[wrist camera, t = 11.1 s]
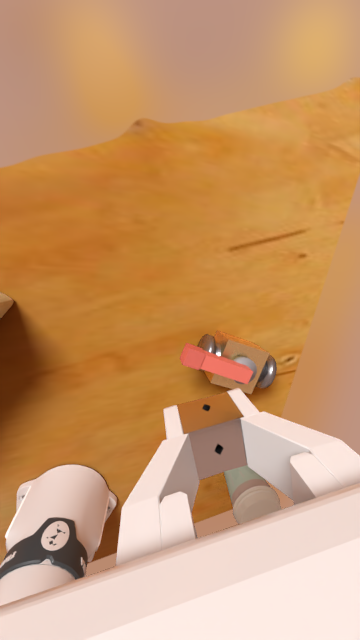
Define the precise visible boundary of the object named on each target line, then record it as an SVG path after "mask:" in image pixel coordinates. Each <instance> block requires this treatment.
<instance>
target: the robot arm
mask: <svg viewBox="0 0 360 640" xmlns="http://www.w3.org/2000/svg"><path fill="white" fill-rule="evenodd" d="M177 407H178V408H177ZM164 419H165V427H166V435H167V440H164V441H162V443H161V445H160V446H159V448H158V450H157V451H156V453H155V455H154V456H153V458H152V460H151V461H150V463H149V464H148V466H147V468H146V469H145V471H144V473H143V474H142V476H141V478H140V479H139V481H138V482H137V484H136V486H135V487H134V489H133V491H132V492H131V494H130V496H129V497H128V499H127V501H126V502H125V504H124V505H123V507H122V512H121V521H120V530H119V539H118V548H117V558H116V566H115V567H112V568H109V569H106V570H103V571H100V572H97V573H94V574H91V575H89V576H86V577H85V575H86V567H87V562H91V561H92V559H93V557H94V554H95V551H97V550H98V547H99V545H100V542H101V537H102V532H103V528H104V523H105V522H106V520H107V519H108V517H109V516H110V514H111V512H112V511H113V509H114V508H115V506H116V503H117V497H116V496H115V495H114V494H113V493H112V492H111V491H109V489H108V487H107V485H106V482H105V480H104V479H103V477H102V476H101V475H100V474H99V473H97V472H96V471H94V470H93V469H91V468H88V467H85V466H81V465H63V466H59V467H56V468H53V469H51V470H49V471H47V472H45V473H44V474H42V475H41V476H40V477H38V478H37V479H35V480H32V481H28V482H25V483H23V484H21V485H20V487H19V489H18V491H17V512H16V514H15V516H14V518H13V520H12V522H11V524H10V526H9V528H8V530H7V533H6V535H5V538H6V549H7V554H6V556H5V558H4V560H3V562H2V564H1V565H0V640H360V456H359V455H358V454H357V453H355V452H354V451H353V450H352V449H351V448H350V447H348V446H347V445H346V444H345V443H344V442H343V441H341V440H340V439H337V438H334V437H332V436H329V435H326V434H324V433H321V432H318V431H315V430H312V429H310V428H307V427H304V426H302V425H299V424H296V423H294V422H291V421H288V420H285V419H283V418H280V417H277V416H274V415H272V414H269V413H266V412H259V411H258V410H257V409H256V407H255V406H254V405H253V404H252V403H251V401H250V400H249V399H248V398H247V397H246V395H245V394H244V393H243V392H242V390H241V389H239V388H236V389H233V390H230V391H227V392H224V393H221V394H217V395H214V396H210V397H207V398H204V399H198V400H194V401H190V402H186V403H182V404H178V405H174V406H171V407H167V408H164ZM180 420H181V421H180ZM246 465H248V467H249V468H251V469H252V470H253V471H255V472H256V473H257V474H259V475H260V476H261V477H263V478H264V479H265V480H267V481H268V482H270V483H271V484H272V485H273V486H275V487H276V488H277V489H279V490H280V491H281V492H283V493H284V494H285V495H287V496H288V497H289V498H291V499H292V500H293V501H294V505H293V506H291V507H287V508H285V509H282V510H279V511H276V512H273V513H270V514H267V515H264V516H261V517H258V518H255V519H252V520H249V521H246V522H244V523H241V524H238V525H235V526H232V527H229V528H226V529H223V530H220V531H218V532H214V533H212V534H208V535H205V536H203V537H200V538H197V534H196V530H195V526H194V521H193V517H192V509H193V505H194V501H195V497H196V493H197V490H198V486H199V480H201V479H204V478H207V477H210V476H213V475H216V474H218V473H221V472H224V471H228V470H232V469H235V468H239V467H242V466H246Z"/></svg>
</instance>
